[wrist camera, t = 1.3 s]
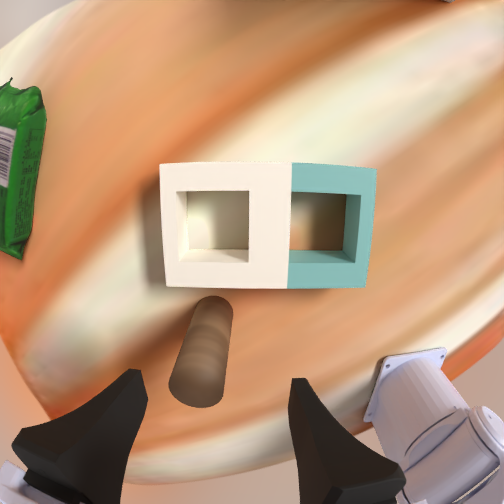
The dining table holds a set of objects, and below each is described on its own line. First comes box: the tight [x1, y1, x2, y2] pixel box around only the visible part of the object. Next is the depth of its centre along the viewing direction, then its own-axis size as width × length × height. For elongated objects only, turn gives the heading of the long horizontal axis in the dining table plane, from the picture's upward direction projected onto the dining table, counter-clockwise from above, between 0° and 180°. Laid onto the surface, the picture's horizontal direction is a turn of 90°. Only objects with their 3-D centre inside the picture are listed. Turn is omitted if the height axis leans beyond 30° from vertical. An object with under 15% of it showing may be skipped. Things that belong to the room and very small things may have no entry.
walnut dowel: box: [169, 296, 233, 408], centre depth 18 cm, size 3×3×9 cm
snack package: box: [0, 77, 47, 260], centre depth 17 cm, size 7×16×5 cm, turn 163°
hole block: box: [160, 161, 377, 289], centre depth 19 cm, size 8×14×3 cm, turn 90°
